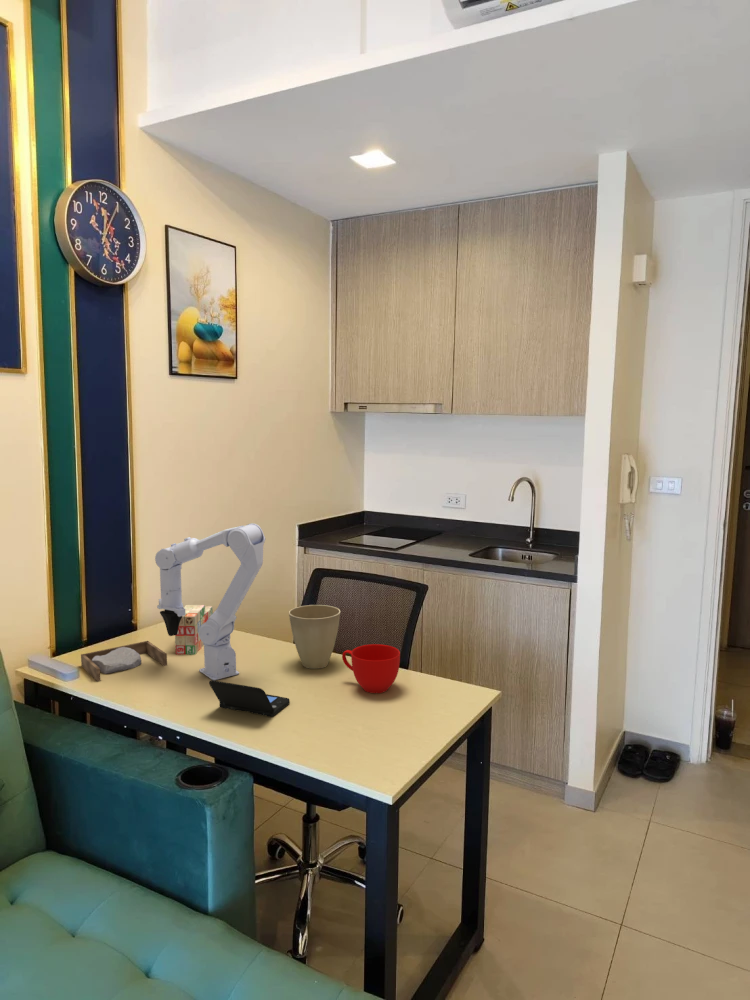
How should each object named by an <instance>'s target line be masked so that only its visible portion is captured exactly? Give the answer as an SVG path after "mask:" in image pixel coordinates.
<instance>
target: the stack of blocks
mask: <svg viewBox="0 0 750 1000" xmlns="http://www.w3.org/2000/svg"><path fill="white" fill-rule="evenodd" d="M183 607H184V608H185V616H182V618H181V620H180V623H179V628H178V632H177V635H174V639H175V642H174V643H175V647H174V648H175V655H194V656H195V655H197V653H199V652H200V650H201V649H202V648H204V645H203V642H202V641H201V639H200V637H199V628H200V626H201V625H202V624H204V623H205V622H206V621H207V620H208V618H209V617H210V616H211V615H212V614H213V613H214V612H213V606H212V605H208V606H207V605H205V604H185V606H183Z"/></svg>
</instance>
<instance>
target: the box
mask: <svg viewBox="0 0 750 1000" xmlns="http://www.w3.org/2000/svg"><path fill="white" fill-rule="evenodd" d="M121 647H127V648H131V649H133V650H135V651H136V652H137V653H139V654H140V655H144V654H148V655H149V656H150V657H152V658H153V659H154V660H156V662H159V664H161V665H163V667H166V666H168V661H167V660H168V657H167V656H168V655H167V652H165V651H163V650H162V649H161V648H159V647H158V646H156V645H155V644H154V643H152V642H150V640H145V641H140V642H136V643H131V644H127V645H121V646H116V647H110V648H106V649H101V650H96V651H91V652H87V653H86V652H85V653H81V654H80V659H81V662H80V663H81V667H82V669H84V670H85V671H86V672H87V673H88V674H89V675H90V676H91V677H92V678H94V680H95V681H96V682H101V671H100V668H99V667H98V666H97V665H95V664H94V663H93V662H92V659H93V658H94V657H95V656H102V655H106V654H108V653H110V652H111V651H113V650H116V649H118V648H121Z"/></svg>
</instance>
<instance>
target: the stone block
mask: <svg viewBox="0 0 750 1000" xmlns="http://www.w3.org/2000/svg"><path fill="white" fill-rule="evenodd" d="M92 662H93V663H94V664H95V665H97V666H98V667H99V668H100V673H102V674H104V675H105V674H111V673H116V672H120V671H126V670H130V669H135V668H136V667H138V666H141V665H142V658H141V654H139V653H137V652H136V651H135V650H133V649H131V648H127V647H121V648H118V649H116V650H113V651H111V652H110V653H108V654H106V655H102V656H95V657H94V658H93V659H92Z"/></svg>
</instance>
